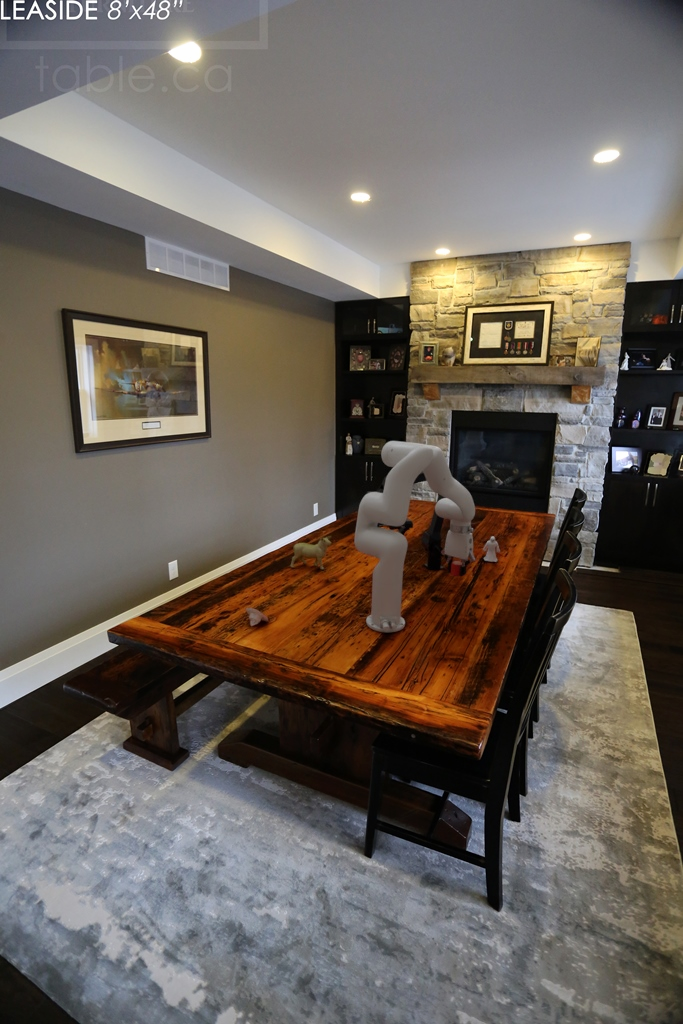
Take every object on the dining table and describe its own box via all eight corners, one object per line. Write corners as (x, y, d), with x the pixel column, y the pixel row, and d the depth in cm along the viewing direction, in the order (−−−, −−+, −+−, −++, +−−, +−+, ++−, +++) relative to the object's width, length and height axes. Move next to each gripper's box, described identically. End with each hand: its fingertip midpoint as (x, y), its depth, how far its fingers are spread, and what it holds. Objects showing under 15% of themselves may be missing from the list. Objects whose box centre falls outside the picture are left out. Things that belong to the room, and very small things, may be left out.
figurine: (481, 562, 222) (483, 536, 219) (482, 556, 230) (484, 531, 227) (499, 564, 220) (501, 538, 217) (499, 558, 228) (501, 533, 225)
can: (457, 571, 198) (458, 560, 197) (464, 575, 194) (465, 563, 193) (448, 573, 196) (449, 561, 195) (455, 577, 192) (456, 565, 191)
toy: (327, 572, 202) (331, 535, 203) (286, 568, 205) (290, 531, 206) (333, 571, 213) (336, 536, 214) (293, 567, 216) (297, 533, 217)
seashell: (251, 634, 162) (235, 615, 161) (262, 623, 165) (246, 604, 164) (262, 630, 156) (245, 610, 155) (273, 618, 159) (257, 599, 158)
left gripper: (485, 531, 188) (480, 576, 192) (445, 522, 198) (442, 566, 203) (475, 535, 182) (471, 582, 187) (435, 526, 193) (432, 570, 197)
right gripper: (374, 513, 193) (373, 551, 196) (419, 511, 197) (417, 548, 201) (365, 506, 203) (364, 543, 207) (408, 504, 208) (407, 540, 212)
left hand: (456, 573), depth 195 cm, fingers closed on can, 4 cm apart
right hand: (388, 544), depth 206 cm, fingers open, 9 cm apart
